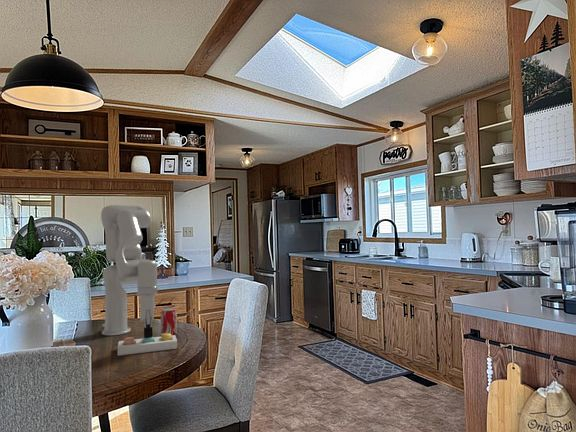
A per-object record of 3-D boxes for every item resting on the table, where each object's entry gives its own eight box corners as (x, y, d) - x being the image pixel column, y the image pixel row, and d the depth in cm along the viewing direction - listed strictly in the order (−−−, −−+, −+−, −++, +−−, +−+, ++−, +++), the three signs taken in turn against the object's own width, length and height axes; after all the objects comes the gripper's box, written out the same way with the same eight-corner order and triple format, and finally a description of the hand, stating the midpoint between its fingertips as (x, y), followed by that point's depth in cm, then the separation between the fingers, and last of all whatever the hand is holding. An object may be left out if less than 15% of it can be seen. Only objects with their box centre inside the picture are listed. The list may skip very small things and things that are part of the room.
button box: (117, 355, 153) (117, 347, 153) (118, 348, 162) (118, 341, 162) (177, 348, 160) (177, 340, 160) (175, 342, 170) (175, 335, 170)
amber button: (161, 343, 161) (161, 336, 161) (160, 341, 165) (160, 333, 165) (171, 342, 162) (171, 335, 163) (170, 340, 166) (170, 332, 166)
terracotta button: (123, 348, 156) (123, 340, 156) (123, 345, 160) (123, 337, 160) (134, 346, 157) (134, 339, 158) (134, 344, 161) (134, 336, 161)
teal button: (142, 346, 159) (142, 338, 159) (142, 343, 162) (142, 336, 162) (153, 345, 160) (153, 337, 160) (153, 342, 164) (152, 335, 164)
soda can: (172, 338, 176) (172, 310, 176) (157, 337, 177) (157, 310, 178) (179, 334, 183) (179, 307, 183) (165, 333, 184) (165, 307, 185)
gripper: (137, 289, 167) (138, 334, 167) (137, 294, 154) (138, 342, 153) (156, 288, 170) (157, 332, 169) (158, 292, 156) (158, 340, 155)
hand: (148, 337), depth 161 cm, fingers closed
